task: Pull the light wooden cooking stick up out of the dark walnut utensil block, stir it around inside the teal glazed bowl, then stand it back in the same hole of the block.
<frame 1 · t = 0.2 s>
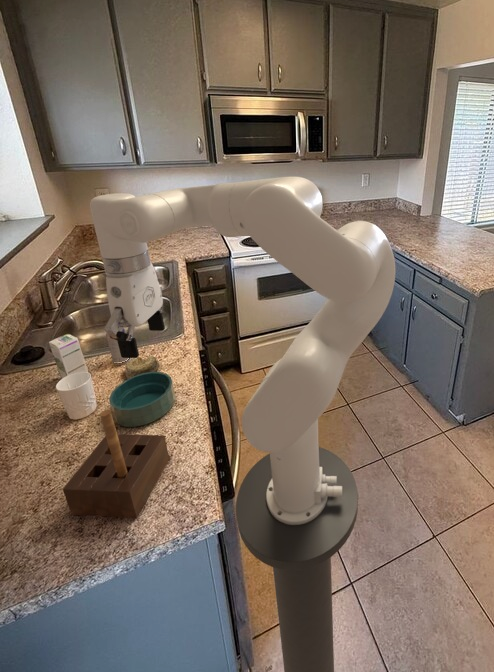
hand: (144, 342, 71), 32 cm above the counter, tool pointing down, fingers open, 9 cm apart
tan textured clump: (142, 371, 115), on the counter
stick: (129, 497, 74), resting in holder
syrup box: (75, 380, 112), on the counter
white cup: (83, 411, 99), on the counter
holder: (124, 484, 77), on the counter
bowl: (145, 407, 99), on the counter
energy drink: (122, 361, 121), on the counter
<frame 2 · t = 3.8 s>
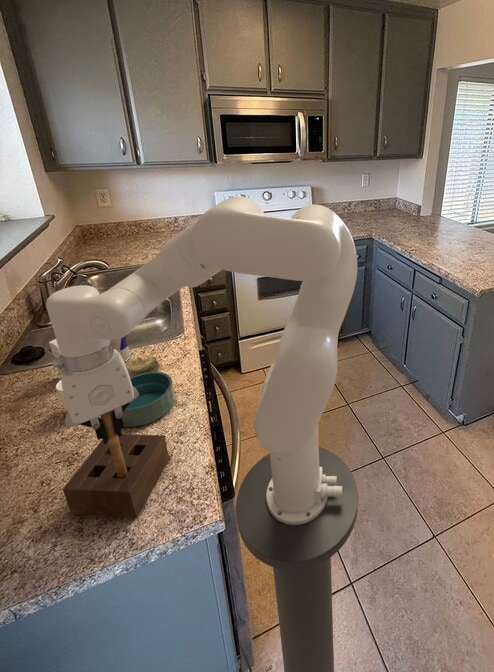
hand: (111, 435, 69), 17 cm above the counter, tool pointing down, fingers closed on stick, 1 cm apart
stick: (129, 497, 74), resting in holder, touching gripper
everything else where it was.
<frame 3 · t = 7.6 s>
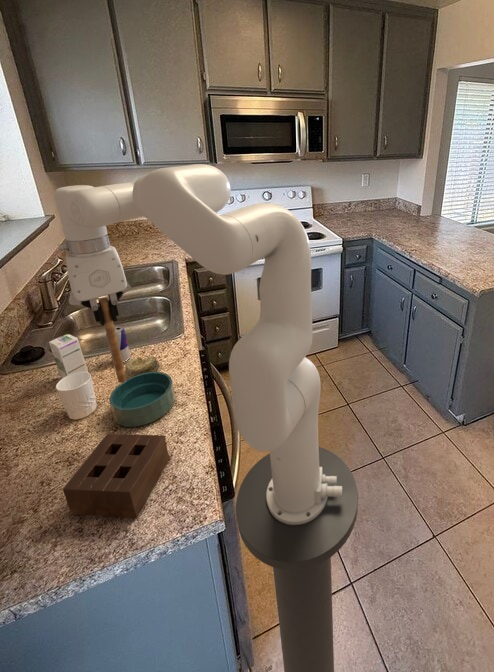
hand: (108, 320, 82), 31 cm above the counter, tool pointing down, fingers closed on stick
stick: (122, 380, 87), point 15 cm above the counter, touching gripper
everything else where it was.
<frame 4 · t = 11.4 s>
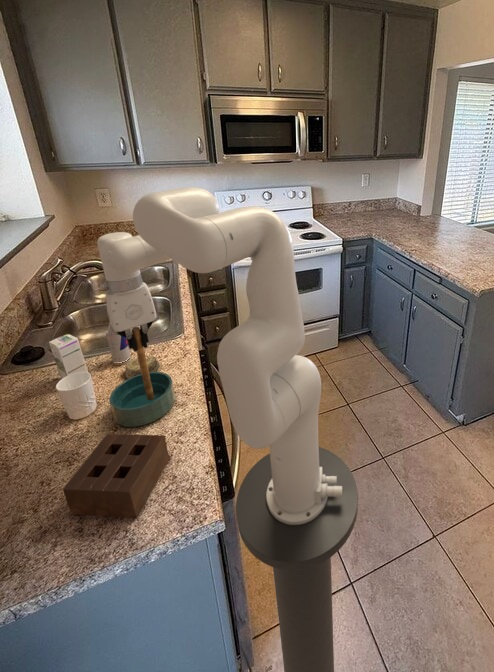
hand: (139, 347, 93), 19 cm above the counter, tool pointing down, fingers closed on stick
stick: (150, 398, 99), point 3 cm above the counter, touching gripper
everything else where it was.
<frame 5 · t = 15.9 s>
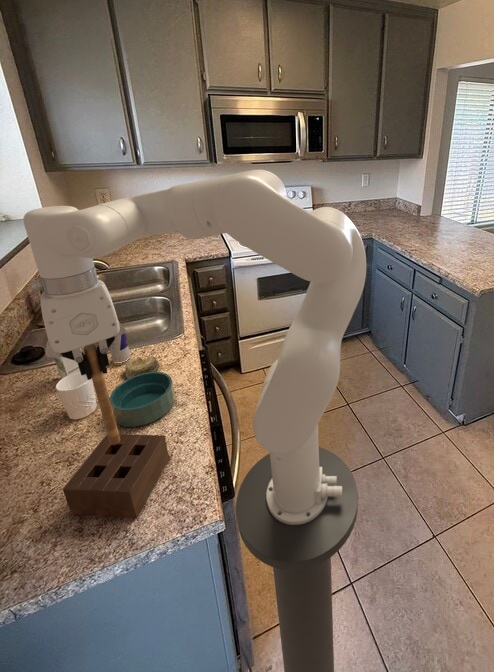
hand: (96, 372, 66), 30 cm above the counter, tool pointing down, fingers closed on stick
stick: (115, 441, 71), point 14 cm above the counter, touching gripper
everything else where it was.
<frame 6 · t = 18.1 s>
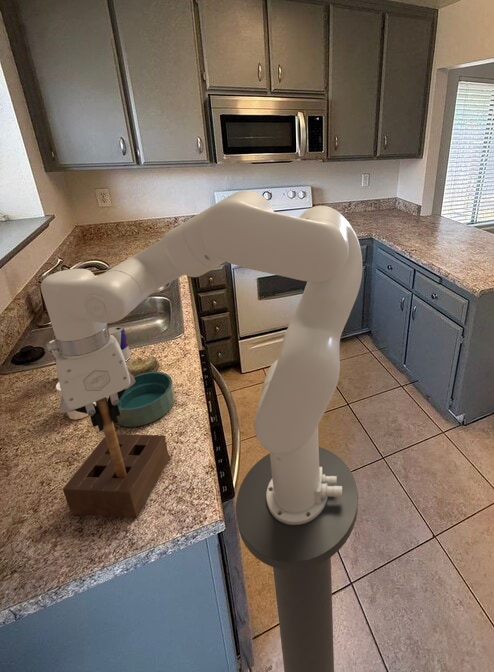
hand: (107, 422, 68), 20 cm above the counter, tool pointing down, fingers closed on stick
stick: (124, 485, 73), point 3 cm above the counter, touching gripper
everything else where it was.
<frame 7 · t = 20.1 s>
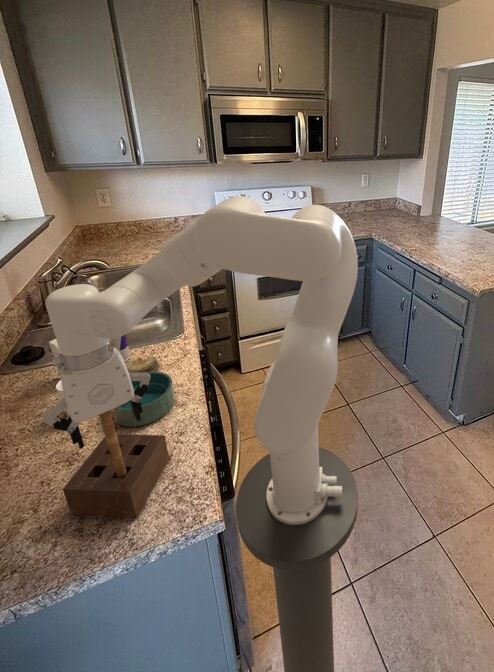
hand: (110, 429, 69), 18 cm above the counter, tool pointing down, fingers open, 9 cm apart
stick: (127, 496, 75), resting in holder
everything else where it was.
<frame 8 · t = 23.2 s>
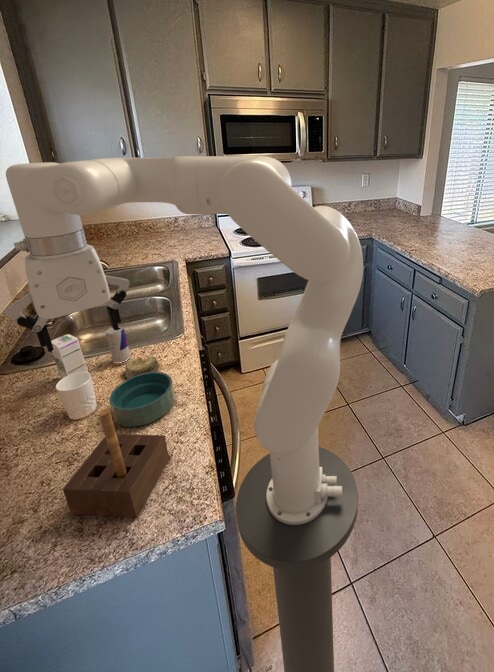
hand: (84, 337, 62), 38 cm above the counter, tool pointing down, fingers open, 9 cm apart
nothing on the counter moved.
at the end: stick 0.4 cm from the target spot in the holder, point 0.0 cm above the holder's base; stick tilted 0°; stick touching counter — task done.
